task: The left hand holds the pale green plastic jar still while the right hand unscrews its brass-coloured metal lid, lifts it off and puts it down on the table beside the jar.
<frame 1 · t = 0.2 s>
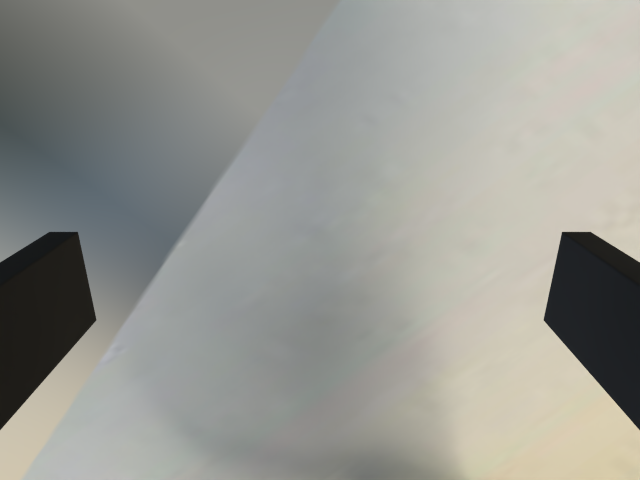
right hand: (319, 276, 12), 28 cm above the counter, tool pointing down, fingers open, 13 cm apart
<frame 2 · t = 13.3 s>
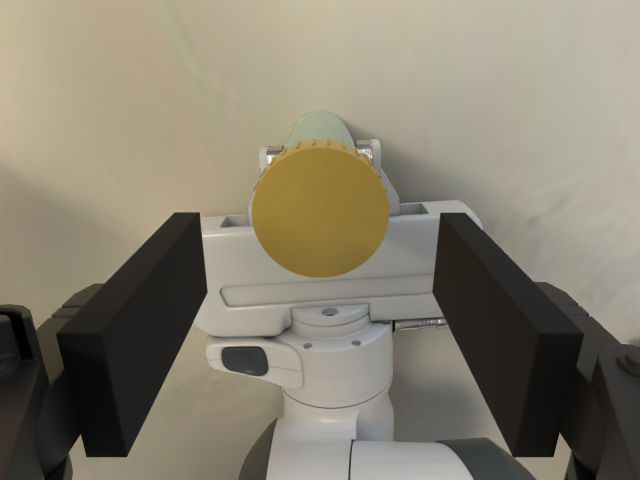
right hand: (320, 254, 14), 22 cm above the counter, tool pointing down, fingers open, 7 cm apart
left hand: (318, 144, 28), fingers closed on jar, 4 cm apart
lid: (320, 213, 18), point 18 cm above the counter, screwed on, not yet turned
jar: (320, 142, 34), on the counter, touching left hand
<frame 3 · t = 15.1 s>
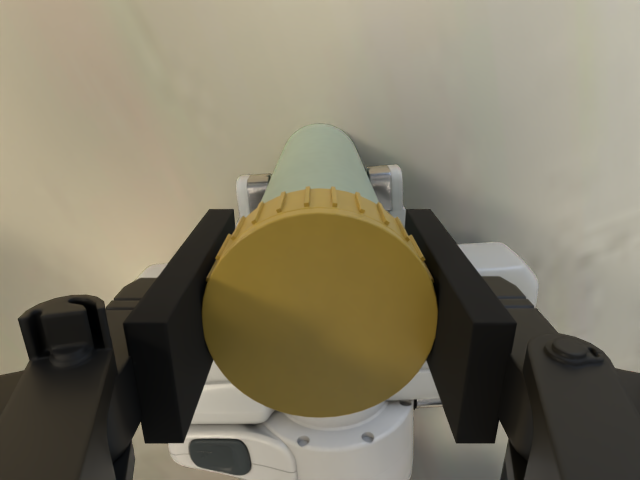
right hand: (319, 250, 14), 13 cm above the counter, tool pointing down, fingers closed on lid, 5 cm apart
lid: (319, 317, 10), point 18 cm above the counter, screwed on, not yet turned, touching right hand
jar: (319, 162, 27), on the counter, touching left hand
when the right hand's fingers open (14 cm above the counter, at t = 16.5 s): lid stays where it is, point 18 cm above the counter.
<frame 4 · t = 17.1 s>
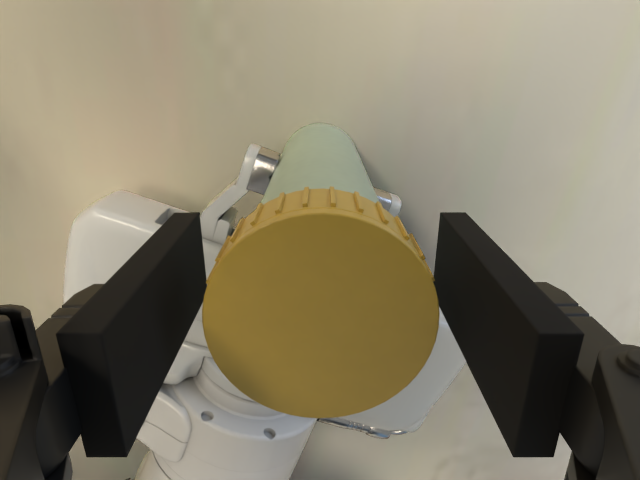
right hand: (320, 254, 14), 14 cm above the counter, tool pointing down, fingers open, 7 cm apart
lid: (320, 317, 10), point 18 cm above the counter, turned 89° so far, risen 0.2 cm, still on its thread
jar: (320, 162, 27), on the counter, touching left hand
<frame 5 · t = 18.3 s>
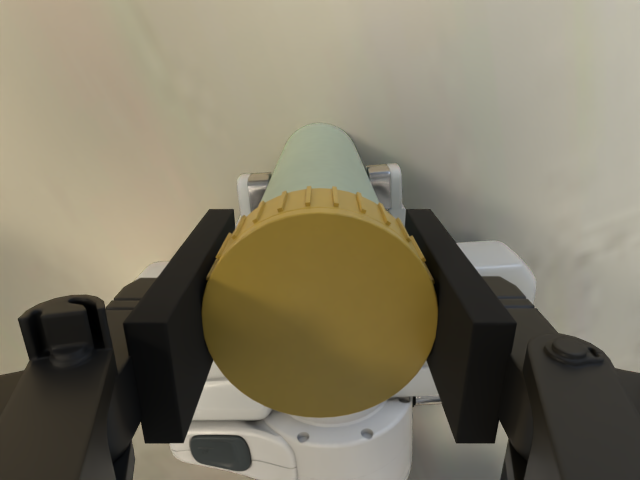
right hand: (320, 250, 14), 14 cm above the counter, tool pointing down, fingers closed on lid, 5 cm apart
lid: (319, 317, 10), point 18 cm above the counter, turned 89° so far, risen 0.2 cm, still on its thread, touching right hand
jar: (319, 162, 27), on the counter, touching left hand
when the right hand's fingers open (0 cm above the counter, at t = 24.1 s): lid drops 3 cm, point 2 cm above the counter.
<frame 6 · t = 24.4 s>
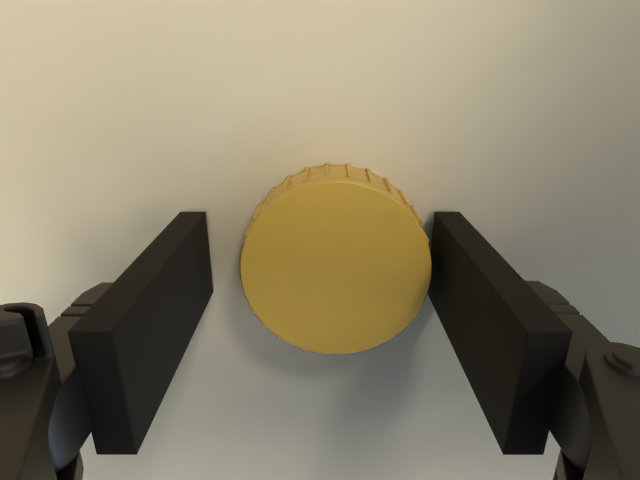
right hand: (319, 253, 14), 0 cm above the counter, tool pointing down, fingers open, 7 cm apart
lid: (335, 269, 13), point 2 cm above the counter, off its thread
when the left hand's fingers open (6 cm above the counter, at t = 25.3 s): jar stays where it is, on the counter.
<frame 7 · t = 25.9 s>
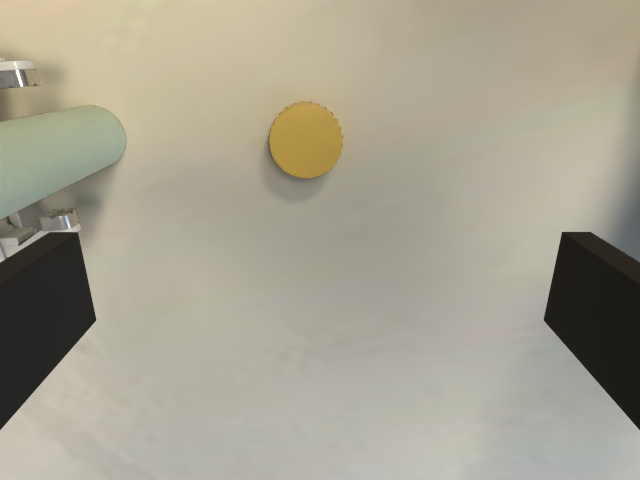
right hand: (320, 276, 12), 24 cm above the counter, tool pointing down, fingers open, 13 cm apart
lid: (306, 141, 33), point 2 cm above the counter, off its thread
jar: (95, 136, 34), on the counter
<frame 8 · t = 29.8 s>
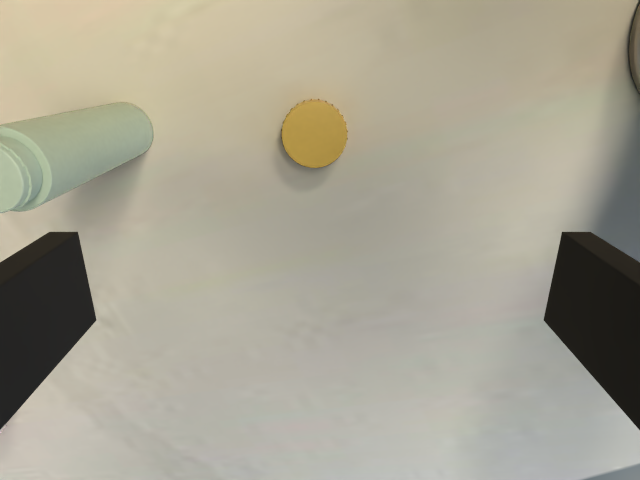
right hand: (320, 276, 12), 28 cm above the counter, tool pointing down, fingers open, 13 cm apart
lid: (314, 134, 37), point 2 cm above the counter, off its thread
jar: (126, 130, 38), on the counter
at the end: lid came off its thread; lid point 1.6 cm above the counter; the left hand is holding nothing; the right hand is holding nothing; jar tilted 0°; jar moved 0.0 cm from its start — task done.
